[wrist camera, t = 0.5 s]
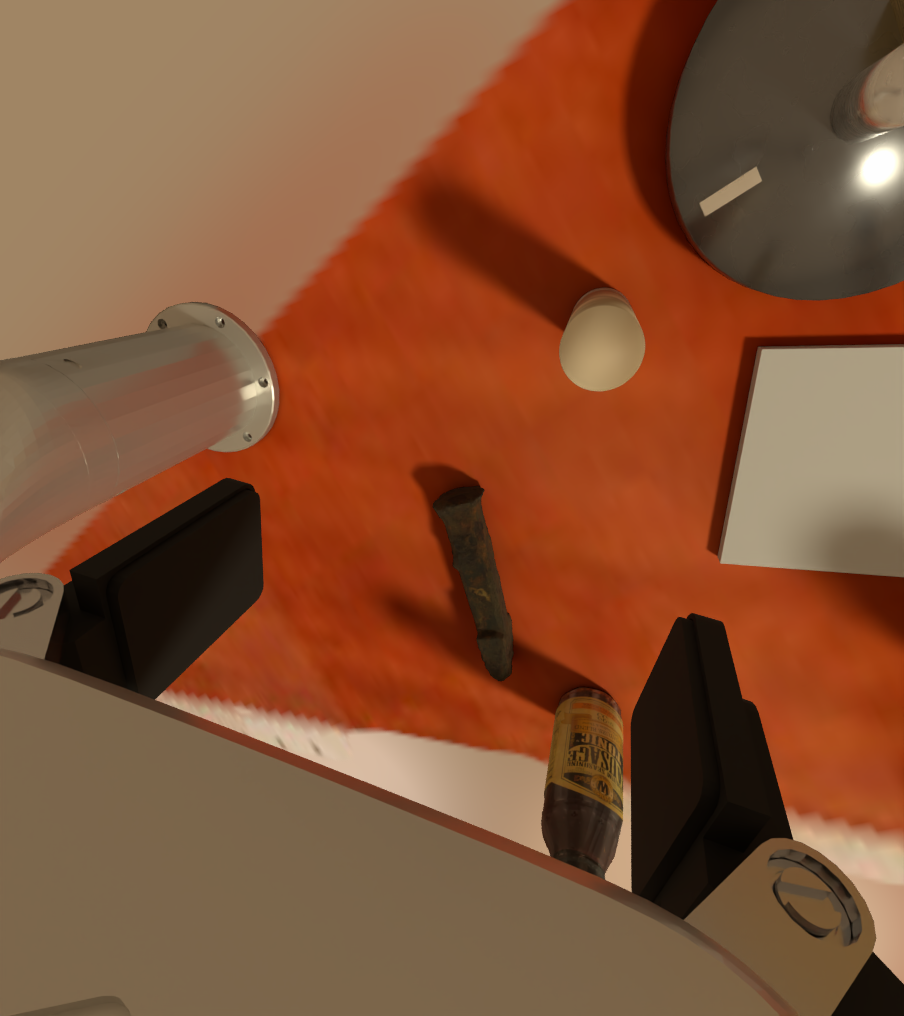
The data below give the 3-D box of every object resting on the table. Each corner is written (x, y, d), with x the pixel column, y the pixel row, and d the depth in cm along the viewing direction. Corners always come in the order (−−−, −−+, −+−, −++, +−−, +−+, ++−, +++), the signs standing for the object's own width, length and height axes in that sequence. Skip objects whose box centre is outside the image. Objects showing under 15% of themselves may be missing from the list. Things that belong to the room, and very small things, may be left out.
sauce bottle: (635, 704, 50) (653, 947, 33) (598, 739, 53) (597, 978, 36) (575, 670, 50) (561, 896, 33) (541, 708, 53) (513, 931, 36)
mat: (717, 556, 41) (720, 563, 40) (757, 346, 34) (762, 349, 33) (1033, 579, 36) (1043, 587, 35) (1155, 340, 29) (1172, 342, 28)
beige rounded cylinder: (569, 349, 37) (558, 391, 27) (572, 288, 35) (560, 307, 25) (629, 348, 36) (640, 391, 26) (634, 286, 34) (649, 304, 24)
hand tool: (440, 485, 45) (424, 509, 41) (485, 480, 44) (473, 504, 40) (483, 657, 52) (473, 692, 48) (522, 657, 51) (515, 693, 47)
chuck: (736, 352, 34) (767, 377, 28) (611, 73, 30) (614, 25, 23) (1106, 165, 27) (1268, 140, 20) (1014, -252, 22) (1187, -460, 15)
